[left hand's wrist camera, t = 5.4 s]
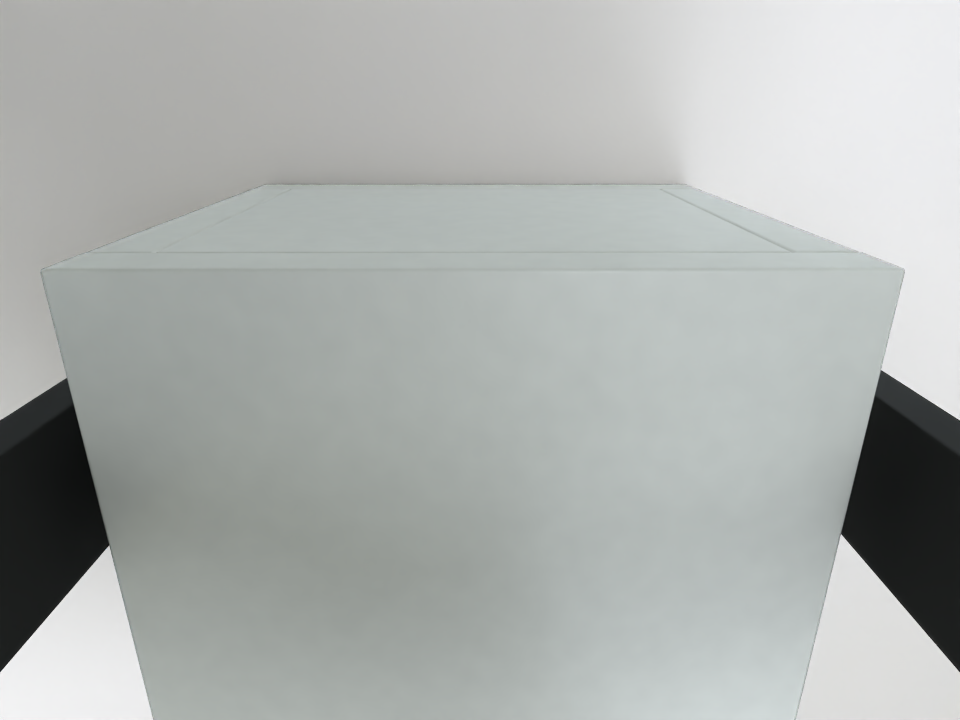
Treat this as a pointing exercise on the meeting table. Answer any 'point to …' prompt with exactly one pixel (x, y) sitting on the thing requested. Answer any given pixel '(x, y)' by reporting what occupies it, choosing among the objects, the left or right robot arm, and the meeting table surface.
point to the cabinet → (473, 448)
